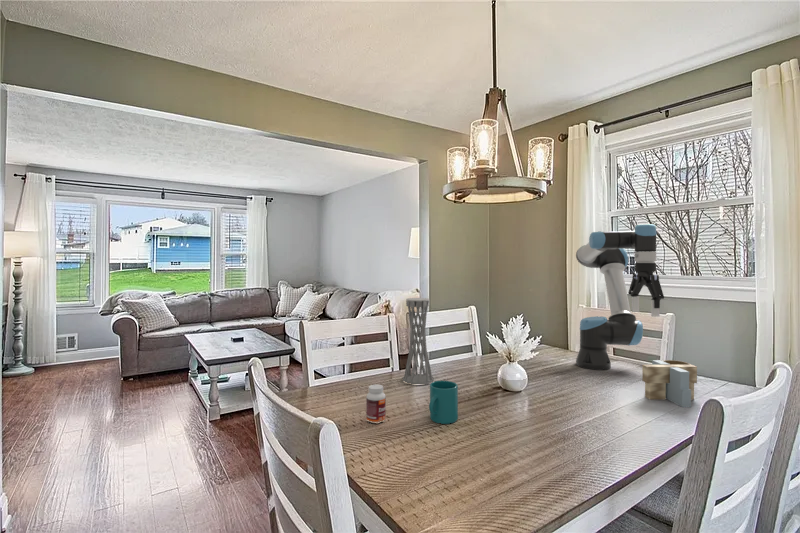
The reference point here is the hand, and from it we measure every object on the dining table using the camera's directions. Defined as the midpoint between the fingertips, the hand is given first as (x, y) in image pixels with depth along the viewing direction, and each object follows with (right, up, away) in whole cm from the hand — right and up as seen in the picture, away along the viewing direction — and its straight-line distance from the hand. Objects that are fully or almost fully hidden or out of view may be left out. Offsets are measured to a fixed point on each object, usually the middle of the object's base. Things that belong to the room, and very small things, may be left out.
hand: (645, 314), depth 164 cm
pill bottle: (-108, -30, -35) cm, 118 cm away
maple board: (-1, -29, -16) cm, 33 cm away
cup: (-87, -30, -35) cm, 99 cm away
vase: (-93, -29, +7) cm, 98 cm away
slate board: (-1, -29, -16) cm, 33 cm away
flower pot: (+13, -29, 0) cm, 32 cm away
